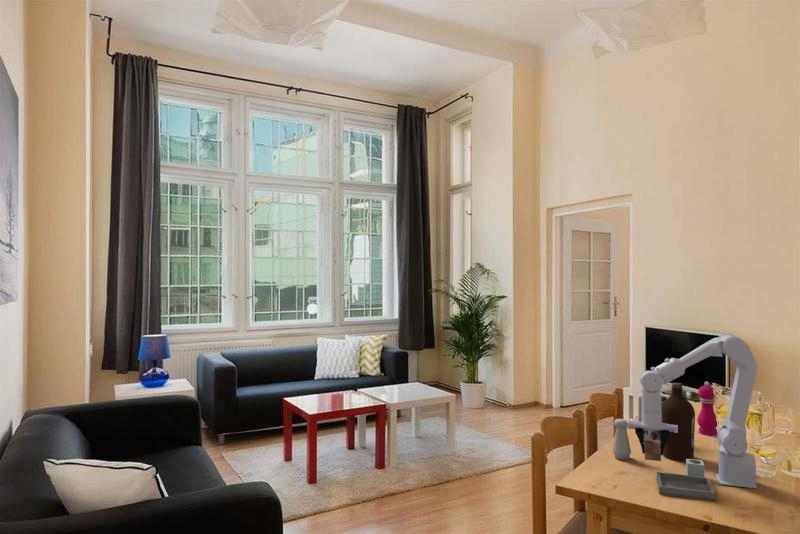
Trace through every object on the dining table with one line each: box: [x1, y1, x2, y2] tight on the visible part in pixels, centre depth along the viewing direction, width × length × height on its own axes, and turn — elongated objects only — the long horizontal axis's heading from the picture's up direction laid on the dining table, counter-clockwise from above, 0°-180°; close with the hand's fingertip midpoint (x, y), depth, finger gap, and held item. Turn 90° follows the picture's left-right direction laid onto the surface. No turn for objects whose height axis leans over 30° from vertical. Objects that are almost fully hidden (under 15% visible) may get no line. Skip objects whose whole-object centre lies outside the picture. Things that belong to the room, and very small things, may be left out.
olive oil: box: [661, 382, 696, 462], centre depth 190 cm, size 11×11×25 cm
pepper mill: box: [696, 381, 718, 437], centre depth 216 cm, size 7×7×20 cm
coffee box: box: [638, 395, 668, 441], centre depth 209 cm, size 9×6×16 cm
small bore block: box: [643, 439, 662, 462], centre depth 175 cm, size 4×4×5 cm
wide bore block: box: [685, 458, 706, 477], centre depth 171 cm, size 4×4×5 cm
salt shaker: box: [612, 418, 632, 461], centre depth 190 cm, size 6×6×13 cm
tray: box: [656, 471, 716, 502], centre depth 162 cm, size 14×12×2 cm
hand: (652, 453), depth 175 cm, fingers closed on small bore block, 4 cm apart
